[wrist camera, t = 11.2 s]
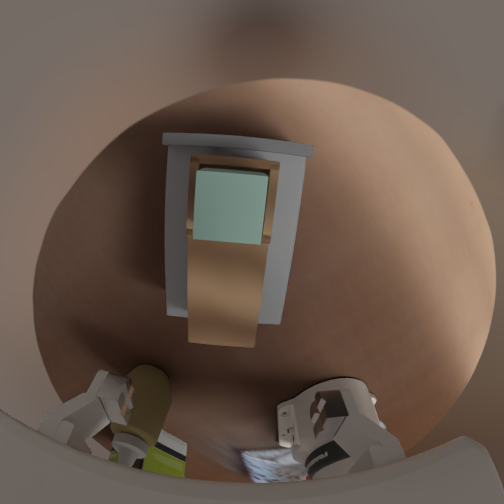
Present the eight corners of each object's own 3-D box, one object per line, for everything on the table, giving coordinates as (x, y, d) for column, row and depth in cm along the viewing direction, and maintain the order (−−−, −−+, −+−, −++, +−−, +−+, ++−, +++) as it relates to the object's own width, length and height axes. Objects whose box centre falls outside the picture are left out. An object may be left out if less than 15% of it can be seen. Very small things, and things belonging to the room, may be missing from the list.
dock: (275, 300, 33) (282, 335, 26) (176, 292, 32) (162, 326, 25) (296, 147, 27) (313, 145, 20) (181, 137, 26) (163, 132, 19)
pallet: (252, 320, 28) (254, 353, 23) (195, 315, 27) (186, 347, 22) (271, 160, 22) (280, 161, 17) (202, 154, 22) (190, 154, 17)
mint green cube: (256, 227, 20) (260, 244, 16) (202, 222, 19) (192, 239, 16) (263, 172, 18) (268, 176, 15) (205, 167, 18) (196, 170, 14)
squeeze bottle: (118, 364, 36) (78, 455, 19) (155, 352, 35) (121, 458, 18) (148, 396, 39) (123, 484, 22) (186, 387, 38) (169, 486, 21)
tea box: (148, 453, 48) (138, 502, 34) (115, 434, 45) (99, 484, 31) (189, 443, 45) (182, 501, 31) (152, 421, 42) (137, 483, 28)
